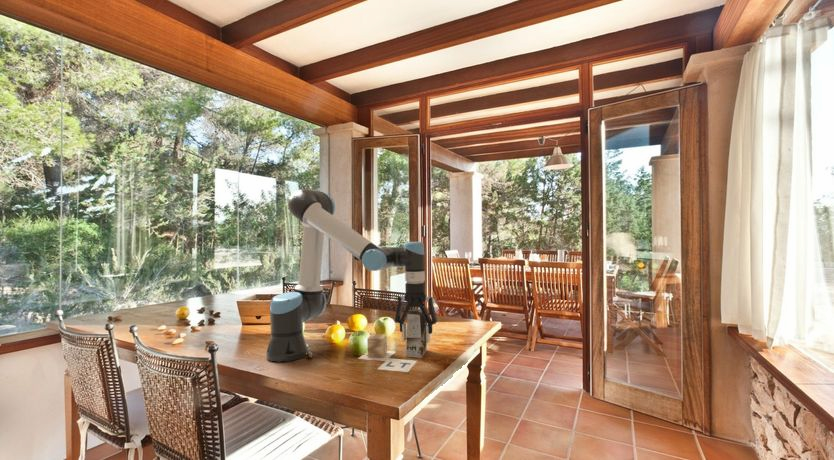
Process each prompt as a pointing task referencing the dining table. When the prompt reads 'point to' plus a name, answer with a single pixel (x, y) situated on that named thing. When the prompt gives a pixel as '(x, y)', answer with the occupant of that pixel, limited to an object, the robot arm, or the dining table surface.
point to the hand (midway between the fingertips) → (416, 341)
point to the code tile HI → (387, 356)
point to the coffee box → (416, 334)
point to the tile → (397, 365)
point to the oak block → (377, 345)
